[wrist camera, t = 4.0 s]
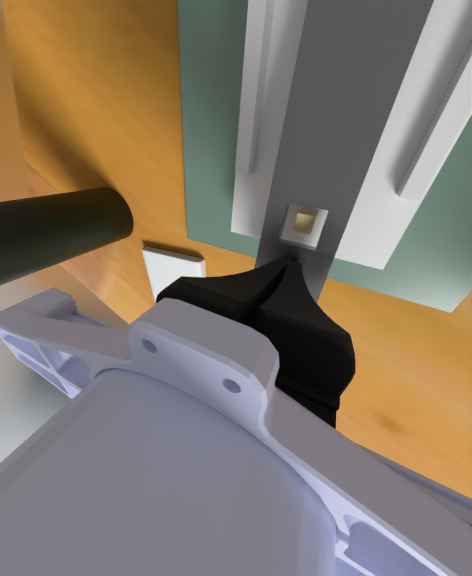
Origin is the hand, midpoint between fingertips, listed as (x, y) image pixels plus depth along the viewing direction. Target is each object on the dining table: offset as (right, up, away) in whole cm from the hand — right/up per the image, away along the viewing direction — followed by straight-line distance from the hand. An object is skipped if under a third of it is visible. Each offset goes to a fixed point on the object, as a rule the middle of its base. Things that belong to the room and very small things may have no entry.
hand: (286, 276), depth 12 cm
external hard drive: (-10, -1, +16) cm, 19 cm away
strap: (+1, +6, -2) cm, 7 cm away
